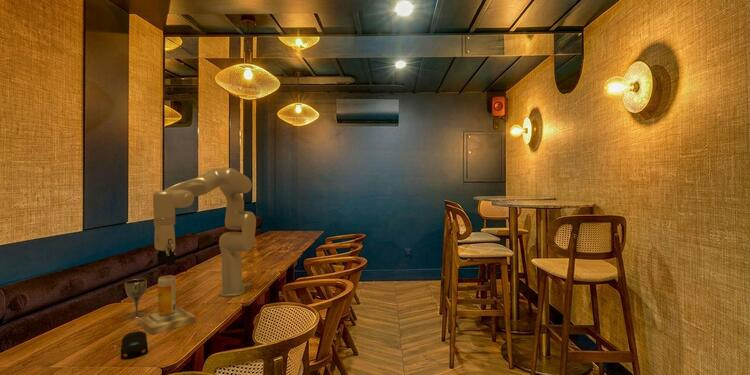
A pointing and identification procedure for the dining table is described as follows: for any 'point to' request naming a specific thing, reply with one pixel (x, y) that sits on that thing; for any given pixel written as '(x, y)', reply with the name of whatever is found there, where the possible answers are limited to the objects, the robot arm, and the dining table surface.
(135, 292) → the wine glass
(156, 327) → the riser
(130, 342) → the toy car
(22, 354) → the dining table surface
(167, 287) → the glass of juice
